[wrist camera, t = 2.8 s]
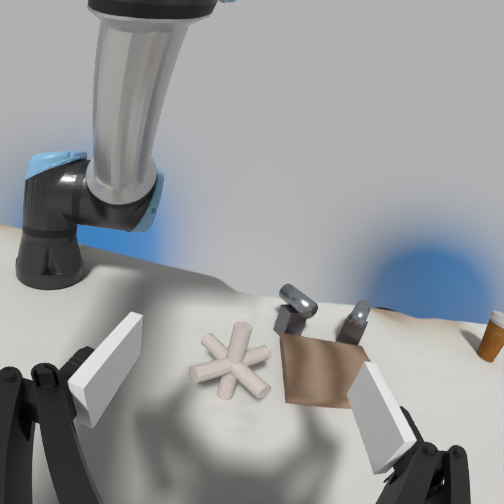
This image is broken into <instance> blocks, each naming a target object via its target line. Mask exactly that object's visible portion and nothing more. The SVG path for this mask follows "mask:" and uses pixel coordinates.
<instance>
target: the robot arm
mask: <svg viewBox="0 0 504 504" xmlns="http://www.w3.org/2000/svg"><path fill="white" fill-rule="evenodd" d="M217 1H218V0H88V6H87V7H88V10H89V11H91V12H92V13H93V14H94V15H95V16H96V17H98V18H99V19H100V20H101V22H100V29H99V35H98V42H97V50H96V59H95V71H94V85H93V152H94V157H93V158H92V160H86V159H87V153H86V152H84V151H69V152H67V151H64V152H49V153H40V154H37V155H34V156H33V157H32V158H31V159H30V161H29V164H28V170H27V174H26V178H25V192H24V204H23V233H22V239H21V243H20V248H19V253H18V257H17V259H16V276H17V278H18V280H19V281H20V282H22V283H23V284H25V285H27V286H30V287H33V288H38V289H59V288H64V287H67V286H70V285H73V284H75V283H76V282H78V281H79V280H80V279H81V278H82V276H83V260H82V258H81V254H80V249H79V245H78V241H77V235H76V234H77V224H80V225H88V226H95V227H103V228H110V229H117V230H125V231H127V232H145V231H147V230H148V229H149V228H150V227H151V225H152V223H153V221H154V218H155V215H156V211H157V207H158V205H159V202H160V198H161V193H162V188H163V181H164V175H163V173H162V172H161V171H160V170H157V168H156V164H155V162H154V160H153V158H152V157H151V153H152V148H153V143H154V139H155V134H156V130H157V126H158V122H159V118H160V114H161V110H162V106H163V102H164V99H165V95H166V92H167V88H168V85H169V81H170V78H171V75H172V72H173V69H174V66H175V63H176V60H177V57H178V54H179V51H180V48H181V45H182V43H183V40H184V37H185V35H186V32H187V30H188V27H189V25H191V24H193V23H195V22H198V21H200V20H203V19H205V18H207V17H209V16H210V15H211V14H212V12H213V9H214V7H215V5H216V3H217ZM219 1H220V2H222V3H225V2H235V1H236V0H219ZM142 326H143V315H141V314H138V313H134V312H130V313H129V314H128V315H127V316H126V317H125V318H124V319H123V321H122V322H121V323H120V324H119V325H118V326H117V327H116V328H115V329H114V330H113V331H112V332H111V333H110V334H109V336H108V337H107V338H106V339H105V340H104V341H103V342H102V343H101V344H100V345H99V346H98V347H97V349H96V350H95V349H92V348H90V347H88V346H86V347H84V348H82V349H80V350H78V351H77V352H76V353H75V354H74V355H73V357H71V358H70V359H69V361H67V362H66V363H65V365H64V366H63V367H62V368H61V369H60V370H59V371H58V369H57V368H56V367H55V366H54V365H52V364H50V363H40V364H37V365H35V366H34V367H33V368H32V370H31V376H32V379H33V381H32V380H29V379H25V378H23V377H22V374H21V372H20V371H19V370H18V369H17V368H15V367H5V368H3V369H1V370H0V504H32V456H33V442H34V432H35V424H36V423H39V424H40V430H41V436H42V441H43V446H44V451H45V455H46V459H47V463H48V467H49V471H50V475H51V478H52V481H53V485H54V488H55V491H56V494H57V497H58V500H59V503H60V504H103V503H102V500H101V498H100V496H99V494H98V492H97V489H96V487H95V485H94V482H93V480H92V477H91V475H90V472H89V470H88V467H87V464H86V462H85V459H84V456H83V453H82V450H81V447H80V444H79V440H78V437H77V434H76V430H75V427H74V423H73V419H74V418H75V417H76V415H77V418H78V421H79V423H81V424H83V425H85V426H87V427H89V428H91V429H93V428H94V427H95V425H96V424H97V422H98V420H99V419H100V417H101V415H102V414H103V412H104V411H105V409H106V407H107V406H108V404H109V403H110V401H111V399H112V398H113V396H114V395H115V393H116V392H117V390H118V388H119V387H120V385H121V384H122V382H123V381H124V379H125V378H126V376H127V374H128V373H129V371H130V370H131V368H132V367H133V365H134V364H135V362H136V361H137V359H138V358H139V356H140V355H141V348H142ZM347 397H348V400H349V402H350V405H351V408H352V411H353V414H354V416H355V419H356V422H357V425H358V428H359V431H360V434H361V437H362V439H363V442H364V445H365V448H366V451H367V454H368V457H369V460H370V463H371V467H372V470H373V473H374V474H381V473H386V472H387V471H388V470H390V469H391V468H392V467H393V468H394V470H395V471H394V472H393V473H392V474H391V475H390V476H389V477H388V478H386V479H385V480H384V483H385V482H386V481H387V480H388V482H387V484H386V486H385V487H384V489H383V491H382V493H381V495H380V497H379V498H378V500H377V502H376V504H471V499H470V480H469V469H468V460H467V454H466V451H465V450H464V448H462V447H461V446H458V445H453V446H451V447H450V449H449V450H448V451H439V450H438V449H437V447H436V446H435V445H433V444H432V443H429V442H424V440H423V438H422V436H421V434H420V432H419V431H418V429H417V427H416V425H414V424H415V423H414V421H413V420H412V418H411V416H410V414H409V412H408V411H407V410H406V409H405V408H404V407H403V406H400V407H399V405H398V403H397V402H396V400H395V398H394V396H393V394H392V392H391V391H390V389H389V387H388V385H387V384H386V382H385V380H384V378H383V376H382V375H381V373H380V371H379V369H378V368H377V366H376V364H375V363H374V362H364V363H363V365H362V367H361V369H360V371H359V373H358V374H357V376H356V378H355V380H354V382H353V384H352V386H351V387H350V389H349V391H348V393H347ZM443 480H444V485H443Z"/></svg>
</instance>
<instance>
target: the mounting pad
mask: <svg viewBox="0 0 504 504" xmlns="http://www.w3.org/2000/svg"><path fill="white" fill-rule="evenodd" d="M280 348H281V358H282V368H283V378H284V389H285V400H286V403H291V404H300V405H309V406H319V407H332V408H350V409H352V408H351V405H350V402H349V400H348V397H347V393H348V391H349V389H350V387H351V386H352V384H353V382H354V380H355V378H356V376H357V374H358V373H359V371H360V369H361V367H362V365H363V363H364V362H370V360H369V358H368V357H367V355H366V353H365V351H364V349H363V348H362V346H358V345H351V344H344V343H338V342H331V341H325V340H319V339H314V338H308V337H303V336H297V335H292V334H287V333H282V335H281V338H280Z"/></svg>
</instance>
